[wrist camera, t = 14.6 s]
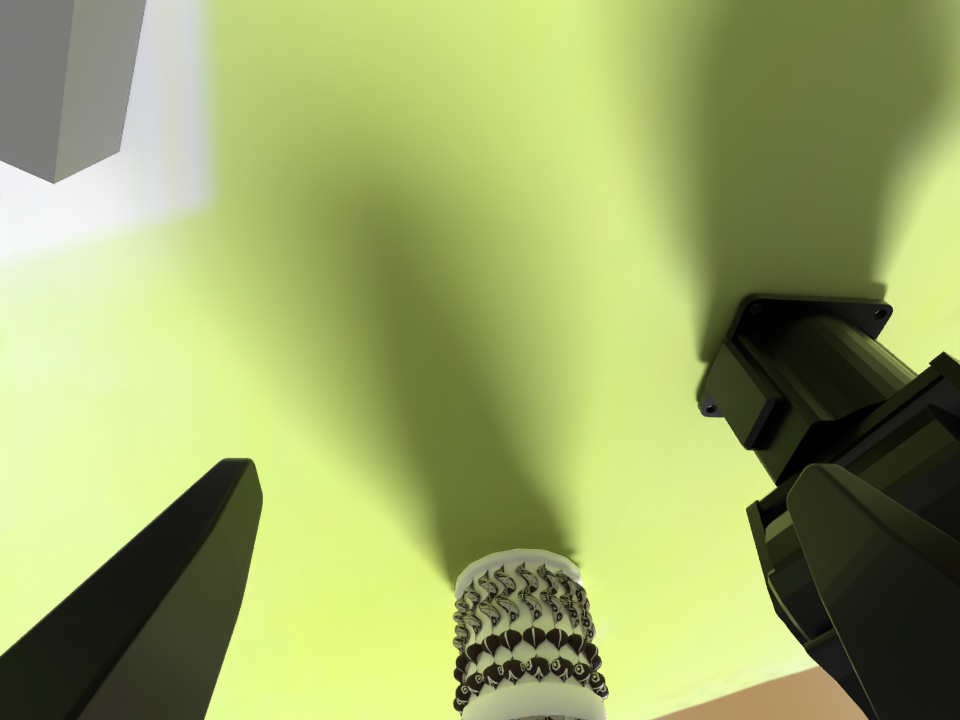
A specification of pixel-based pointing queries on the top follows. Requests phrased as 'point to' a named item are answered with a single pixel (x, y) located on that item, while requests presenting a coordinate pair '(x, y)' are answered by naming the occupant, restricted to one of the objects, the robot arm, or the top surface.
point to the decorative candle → (526, 640)
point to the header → (65, 81)
